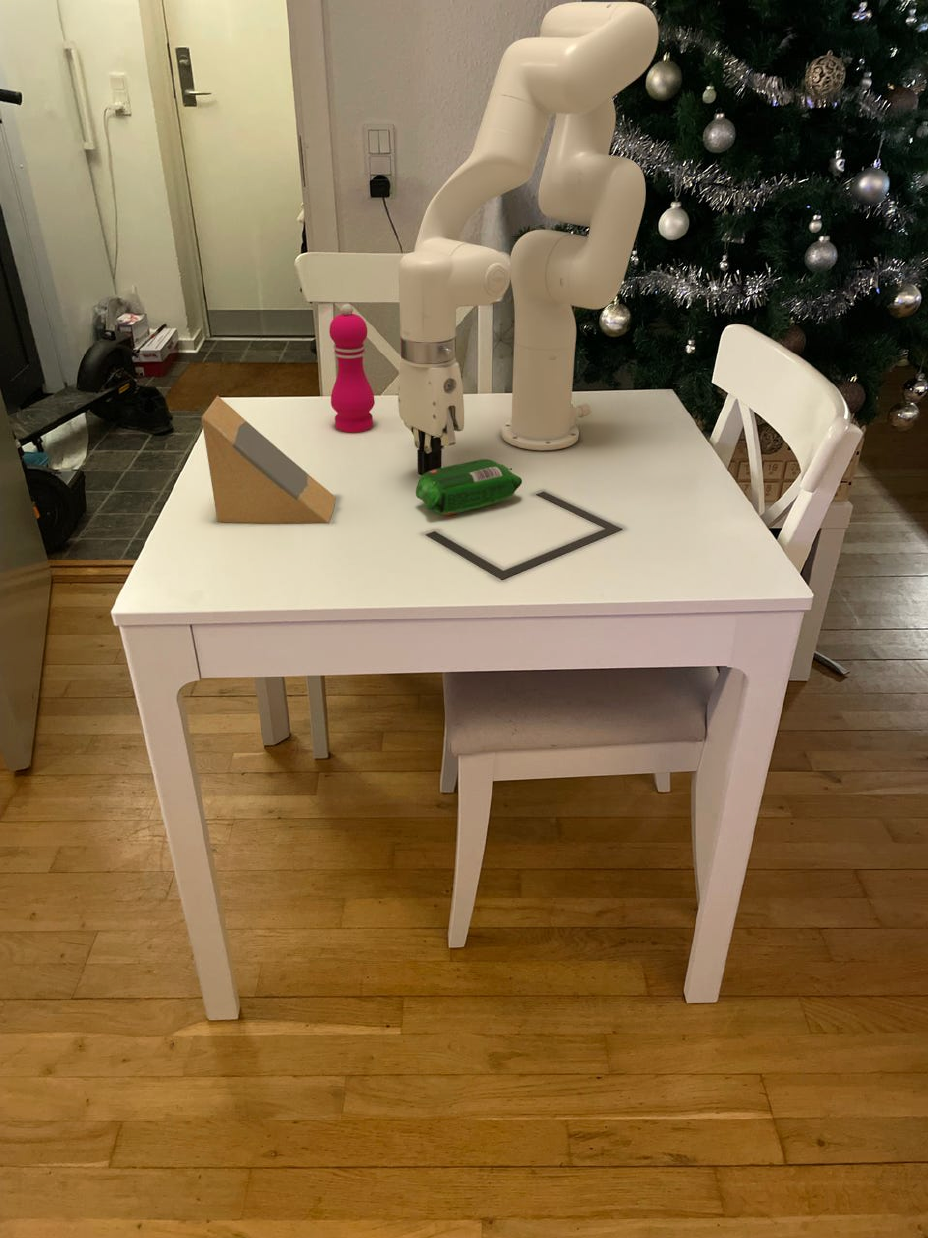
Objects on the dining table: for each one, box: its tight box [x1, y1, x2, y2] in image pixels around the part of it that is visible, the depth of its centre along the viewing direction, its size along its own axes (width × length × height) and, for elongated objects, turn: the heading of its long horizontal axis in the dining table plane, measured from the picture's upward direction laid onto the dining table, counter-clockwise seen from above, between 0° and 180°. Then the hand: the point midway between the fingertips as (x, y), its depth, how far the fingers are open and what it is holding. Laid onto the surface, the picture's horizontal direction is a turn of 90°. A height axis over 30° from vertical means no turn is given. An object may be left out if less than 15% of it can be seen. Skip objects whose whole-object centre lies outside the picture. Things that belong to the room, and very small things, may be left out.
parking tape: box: [425, 491, 623, 581], centre depth 126 cm, size 22×15×1 cm
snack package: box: [415, 458, 523, 516], centre depth 132 cm, size 7×16×5 cm, turn 118°
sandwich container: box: [201, 395, 337, 524], centre depth 127 cm, size 9×15×15 cm, turn 90°
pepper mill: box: [328, 303, 376, 434], centre depth 153 cm, size 7×7×20 cm
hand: (429, 473), depth 138 cm, fingers closed
